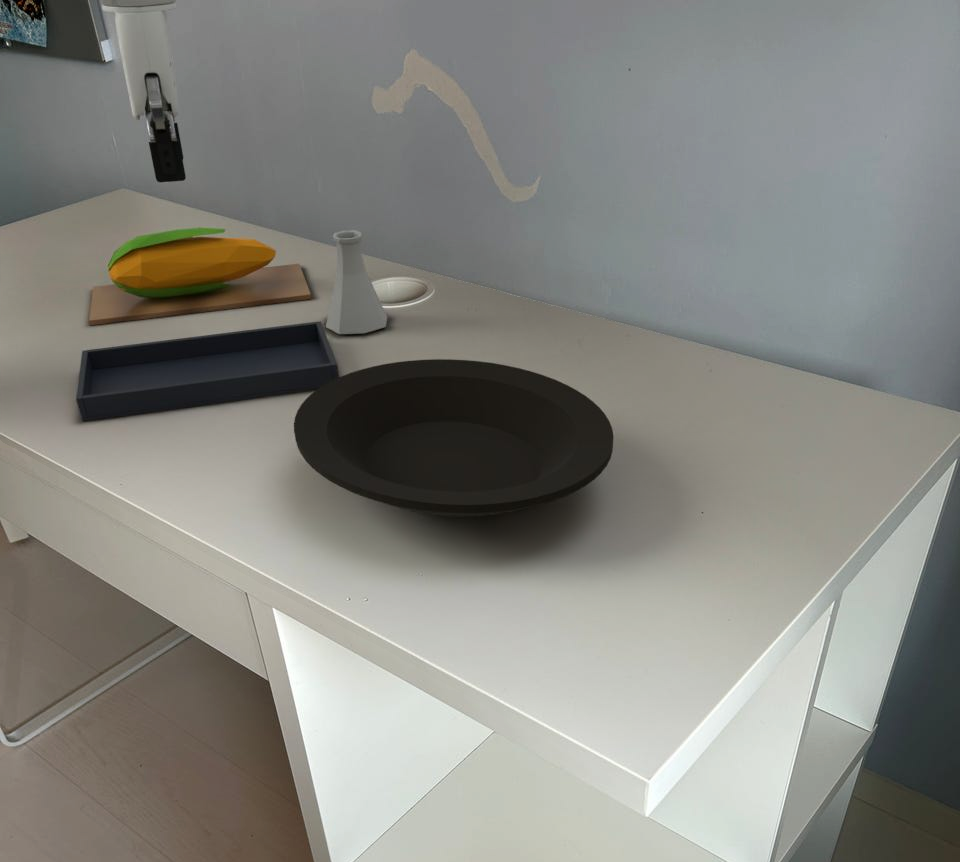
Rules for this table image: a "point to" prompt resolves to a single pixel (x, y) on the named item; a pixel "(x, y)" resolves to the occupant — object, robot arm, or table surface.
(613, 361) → the table surface
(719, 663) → the table surface
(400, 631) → the table surface
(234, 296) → the board
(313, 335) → the tray
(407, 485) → the plate
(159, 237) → the corn
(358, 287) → the flask
